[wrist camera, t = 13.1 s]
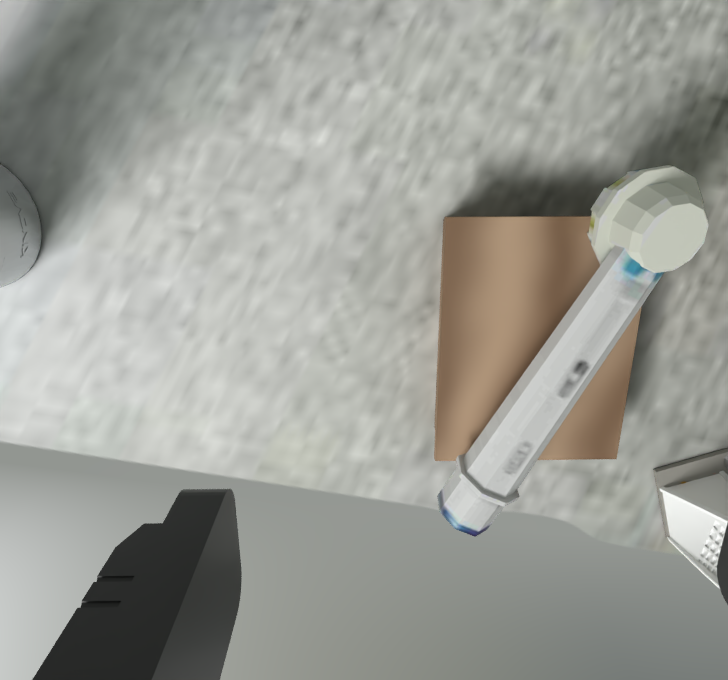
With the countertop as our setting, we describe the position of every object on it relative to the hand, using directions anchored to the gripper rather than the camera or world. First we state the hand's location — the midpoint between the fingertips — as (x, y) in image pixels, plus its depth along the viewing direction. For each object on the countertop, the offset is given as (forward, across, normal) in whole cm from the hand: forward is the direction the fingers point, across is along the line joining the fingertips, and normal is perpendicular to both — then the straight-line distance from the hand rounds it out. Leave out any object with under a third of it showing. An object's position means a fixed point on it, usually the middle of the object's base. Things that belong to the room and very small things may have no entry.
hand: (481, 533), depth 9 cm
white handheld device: (+26, -10, +6) cm, 29 cm away
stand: (+30, -10, +6) cm, 32 cm away
